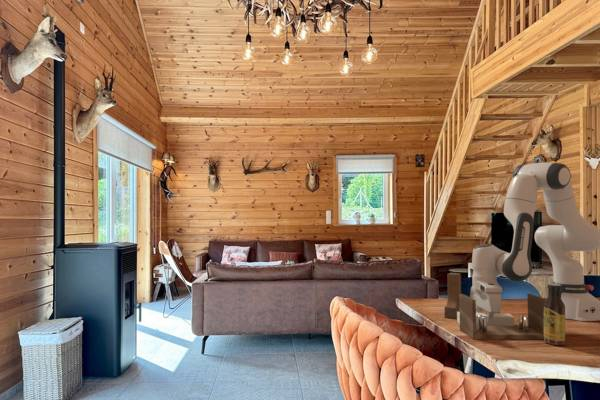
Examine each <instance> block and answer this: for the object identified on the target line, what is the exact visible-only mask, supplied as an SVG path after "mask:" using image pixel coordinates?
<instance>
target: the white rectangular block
mask: <svg viewBox="0 0 600 400" xmlns="http://www.w3.org/2000/svg"><path fill="white" fill-rule="evenodd" d="M478 315H482V317H487V316H488V314H487V312H483V313H478V312H476V326H478ZM456 321H457V323H458V324H459V325H460V312H457V318H456ZM482 326H483V323H482ZM487 326H515V317H514V316H513V315H512V314H511V313H494V316H493V322H492V323H489V322H487Z"/></svg>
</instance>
